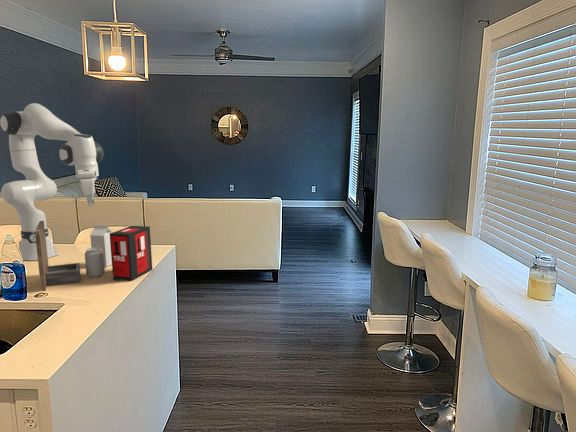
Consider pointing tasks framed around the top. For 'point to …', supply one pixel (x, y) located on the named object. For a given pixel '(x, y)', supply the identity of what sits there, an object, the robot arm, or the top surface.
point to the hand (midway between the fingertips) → (91, 205)
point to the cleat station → (53, 273)
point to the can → (94, 262)
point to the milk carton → (102, 241)
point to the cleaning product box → (131, 252)
